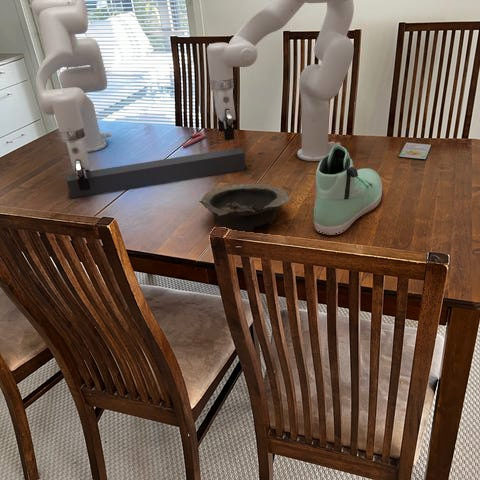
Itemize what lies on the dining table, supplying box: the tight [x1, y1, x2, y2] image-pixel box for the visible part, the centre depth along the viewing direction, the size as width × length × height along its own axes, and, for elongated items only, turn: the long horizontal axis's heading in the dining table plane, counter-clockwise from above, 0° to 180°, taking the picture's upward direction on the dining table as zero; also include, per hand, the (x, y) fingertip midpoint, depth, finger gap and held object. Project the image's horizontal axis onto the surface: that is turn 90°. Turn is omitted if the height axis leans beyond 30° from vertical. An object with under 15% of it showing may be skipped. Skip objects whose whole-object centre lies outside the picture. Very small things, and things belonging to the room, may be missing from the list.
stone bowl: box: [198, 183, 290, 233], centre depth 135 cm, size 25×25×9 cm
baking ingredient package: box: [398, 142, 432, 160], centre depth 172 cm, size 9×1×15 cm
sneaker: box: [313, 145, 383, 236], centre depth 133 cm, size 14×35×20 cm, turn 152°
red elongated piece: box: [182, 132, 206, 148], centre depth 197 cm, size 6×15×2 cm, turn 145°
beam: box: [66, 147, 247, 199], centre depth 164 cm, size 60×6×6 cm, turn 104°
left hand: (85, 184), depth 160 cm, fingers open, 9 cm apart
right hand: (226, 135), depth 164 cm, fingers open, 9 cm apart
